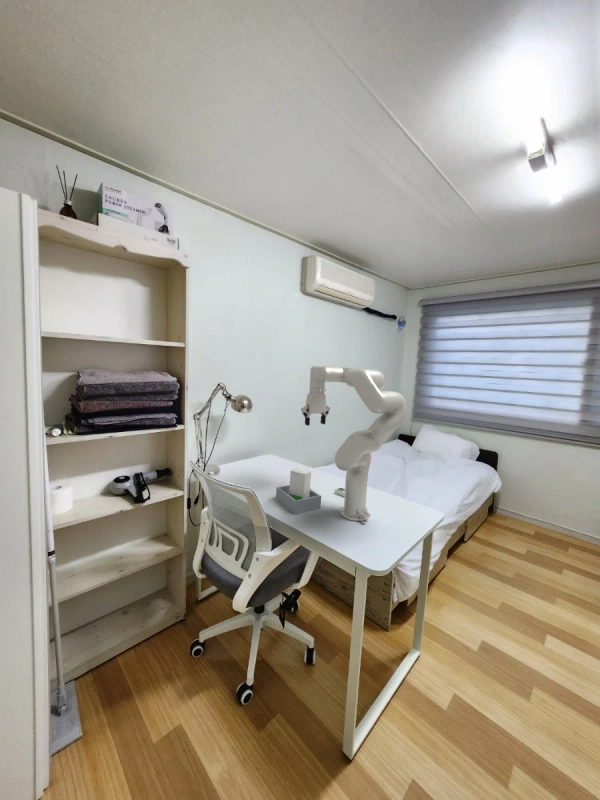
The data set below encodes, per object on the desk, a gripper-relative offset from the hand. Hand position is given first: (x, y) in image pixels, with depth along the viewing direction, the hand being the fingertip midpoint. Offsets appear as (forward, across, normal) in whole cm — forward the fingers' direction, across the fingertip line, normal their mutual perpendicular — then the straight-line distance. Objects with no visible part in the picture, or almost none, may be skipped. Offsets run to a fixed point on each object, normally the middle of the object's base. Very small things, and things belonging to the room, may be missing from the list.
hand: (315, 424), depth 155 cm
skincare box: (+36, +12, +7) cm, 38 cm away
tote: (+36, +13, +7) cm, 39 cm away
